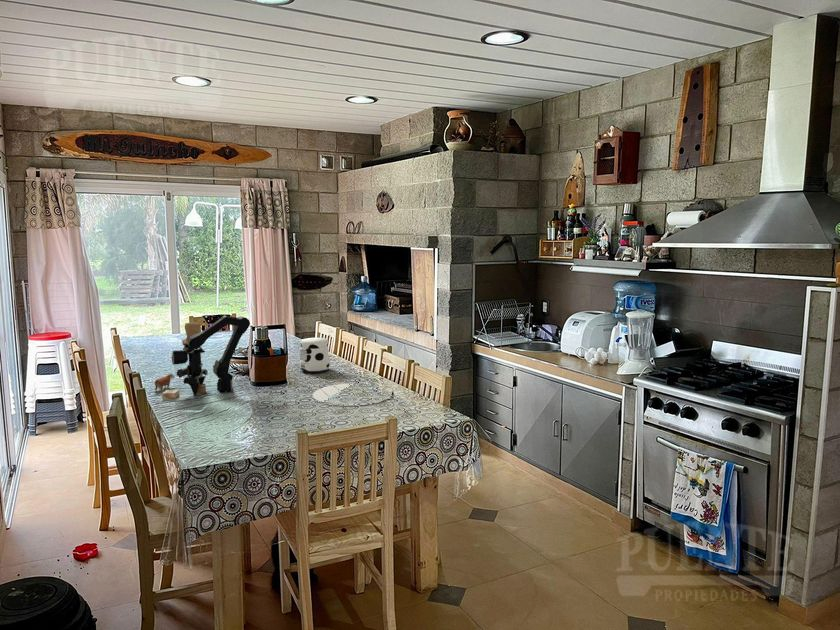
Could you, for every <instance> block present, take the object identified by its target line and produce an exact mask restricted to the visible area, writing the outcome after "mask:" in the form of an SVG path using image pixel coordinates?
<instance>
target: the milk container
mask: <svg viewBox="0 0 840 630" xmlns="http://www.w3.org/2000/svg"><path fill="white" fill-rule="evenodd" d="M328 340H329V339H328V338H326V337H325V338H324V337H308V338H302V339H301V340H300V359H299V369H300V370H301V371H302V372H305V373H322V372H325V371H328V370H329V369H330V368H331V358H330V354H329V341H328Z"/></svg>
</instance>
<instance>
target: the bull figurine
mask: <svg viewBox="0 0 840 630" xmlns="http://www.w3.org/2000/svg"><path fill="white" fill-rule="evenodd" d="M175 378H176V376H175V375H174V374H173V373H172V372H169V373H167V374H165V375H164V376H162V377H160V378H157V379H155V381H154V387H155V388H154V390H155V392H158V389H159V392H161V391H162V392H164V389H163V388H167V389H169V388H170V387H169V386H170V383H171V381H172V380H173V379H175Z"/></svg>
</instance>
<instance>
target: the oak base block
mask: <svg viewBox="0 0 840 630" xmlns="http://www.w3.org/2000/svg"><path fill="white" fill-rule="evenodd" d="M180 395H181V394H180V389H166V390H165V391H162V393H161V397H162V398H161V399H162V400H164V399H176V398H178V397H179V396H180Z"/></svg>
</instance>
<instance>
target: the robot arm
mask: <svg viewBox="0 0 840 630" xmlns="http://www.w3.org/2000/svg"><path fill="white" fill-rule="evenodd" d="M227 325H229V326H233V329H232V330H233V331H232V334H231V337H230V338H229V340H228V343H227V345H226V347H225V349H224V352H223V354H222V356H221V358H220V359H219V360H217V359H216V360H215V361H214V364H213V366H212V373H213V374H214V375H215V376H216V377H217V378H218V379H217V382H216V389H217V391H218V393H231V392H233V390H234V387H233V377H234V376H233V375H232V374H231V373H229V370H230V364H231V360H232V358H233V355H234V353H235V351H236V349H237V347H238V344H239V343H240V340H241V338H242V336H243V335H244V334H245V333H246V332H247V330H248V329H249V327H250V326H251V322H250V319H249V318H247V317H244V316H236V317H235V316H227V315H222V316H221V317H220V318H219V319H218V320H216V321H215V322H213V323H212V324H210V325H209V326H208V327H206V328H205V329H204V330H202V331H200V333H197V334H195V335H192V336H190V337H189V338H188V339H187V343H186V344H184V347H183V348H182V349H179V350H178V349H177V350H172V353H171V357H170V358H171V363H172V365H174V366H176V365H183V364H184V365H185V364H186V363H188V364H187V366H186V367H185V368H180V369H177V370H176V376H177V377H178V378H179V379H180V378H182V377H184V378H183V384H187V385H189V387H190V389H191V392H192V394H193V395H194V396H197V395H196V394H197V391H198V387H199V384H204V381H205V379H206V378H207V376H208V374H209V373H208V370H207V369H206V368H202V367H203V366H204V364H203V362H202V353H206V351H205V350H204V349H203V348H202V346H203V345H204V344H205V343H206V341H207V340H208V339H209V338H210V337H212V336H213V335H215V334H216V333H217V332H219V331H221V330H222V329H223V328H224V327H226V326H227Z"/></svg>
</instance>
